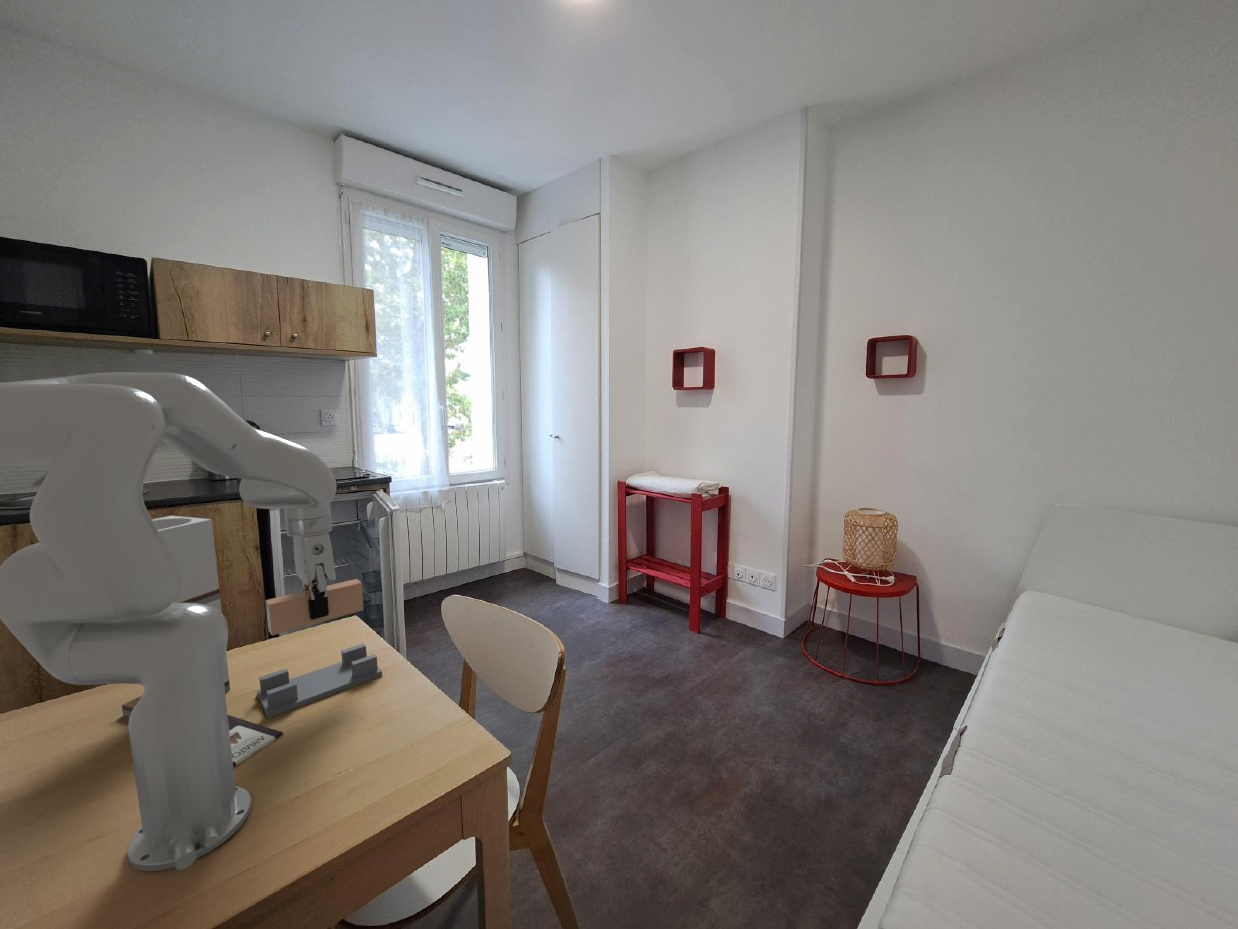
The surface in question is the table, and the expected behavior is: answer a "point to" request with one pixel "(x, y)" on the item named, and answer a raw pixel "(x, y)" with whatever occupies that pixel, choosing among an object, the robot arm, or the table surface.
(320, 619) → the clay bar
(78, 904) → the table surface
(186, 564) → the white open storage bin
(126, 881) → the table surface
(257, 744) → the chocolate bar
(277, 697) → the grey slotted stand
